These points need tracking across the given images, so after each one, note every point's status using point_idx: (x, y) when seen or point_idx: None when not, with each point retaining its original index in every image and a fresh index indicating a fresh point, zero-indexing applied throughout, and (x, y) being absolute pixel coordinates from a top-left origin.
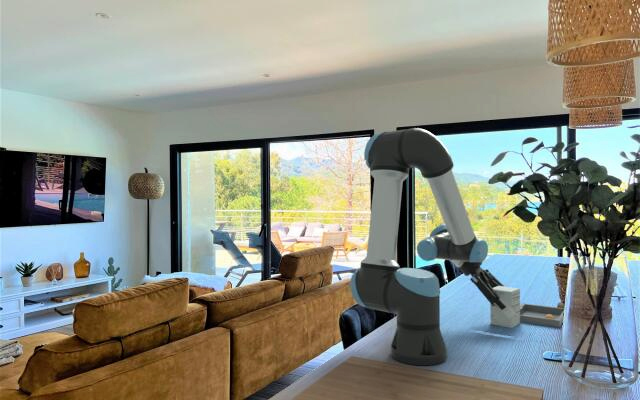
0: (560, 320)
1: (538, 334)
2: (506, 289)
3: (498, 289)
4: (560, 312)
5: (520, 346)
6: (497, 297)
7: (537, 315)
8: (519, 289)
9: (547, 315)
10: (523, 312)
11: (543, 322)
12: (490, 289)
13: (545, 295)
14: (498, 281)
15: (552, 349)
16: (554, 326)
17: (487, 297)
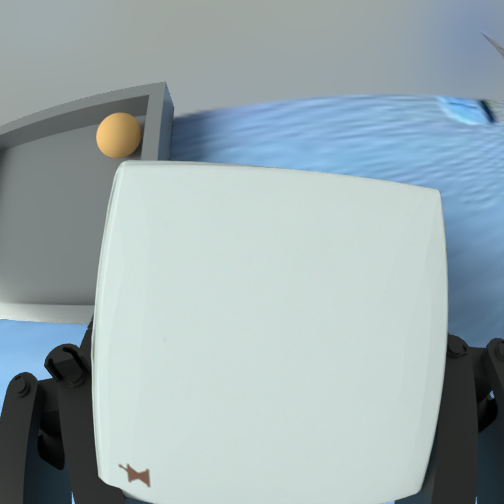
0: (142, 88)
1: (300, 154)
2: (365, 300)
3: (420, 403)
4: None
5: (474, 185)
6: (467, 345)
7: (20, 232)
8: (150, 161)
9: (120, 129)
10: (2, 302)
11: (164, 150)
12: (470, 461)
13: None
14: (6, 501)
15: (427, 101)
16: (169, 116)
17: (496, 411)
